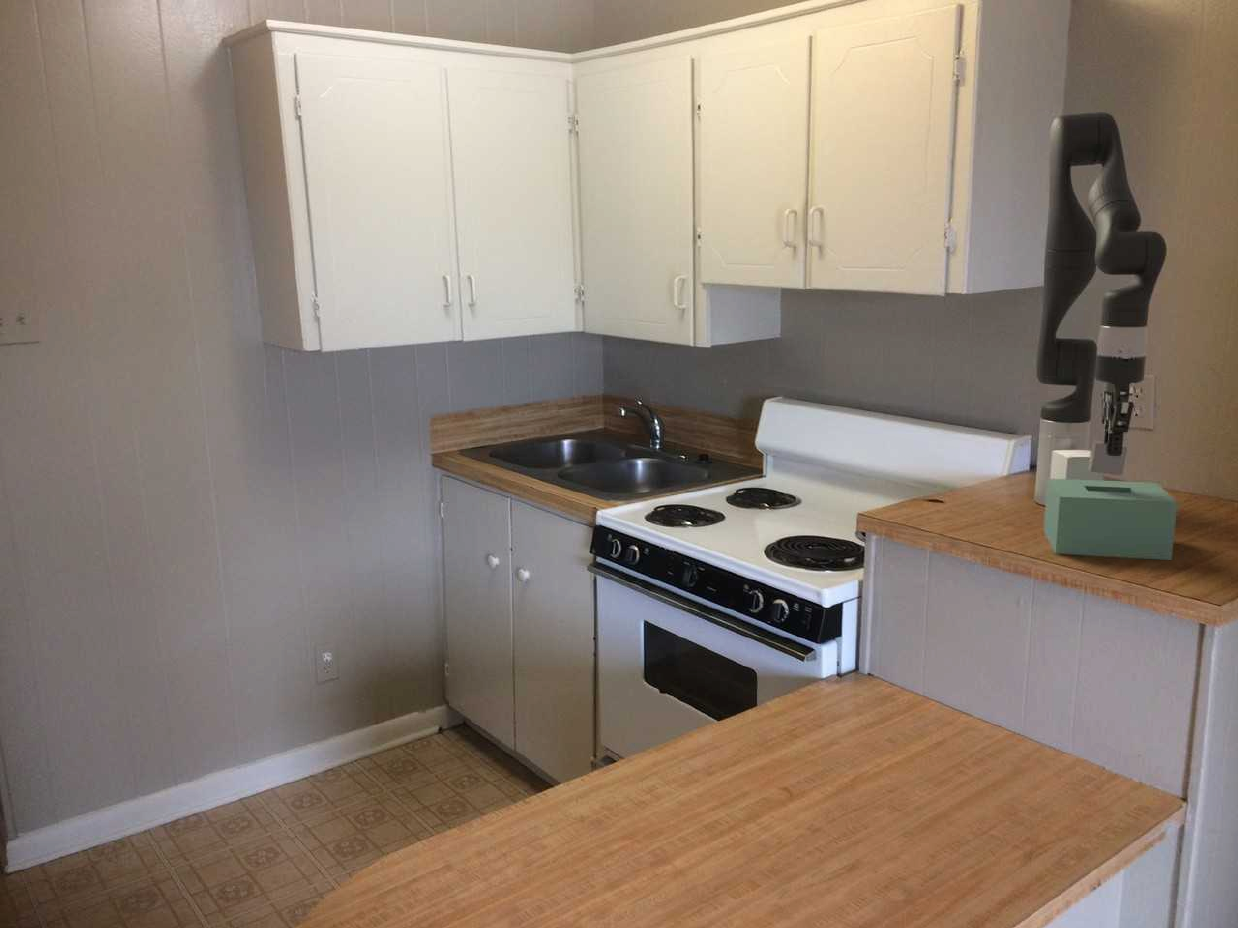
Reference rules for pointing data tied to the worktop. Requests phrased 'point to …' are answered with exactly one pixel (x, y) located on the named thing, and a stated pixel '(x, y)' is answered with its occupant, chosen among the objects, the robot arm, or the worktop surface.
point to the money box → (1110, 518)
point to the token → (1106, 459)
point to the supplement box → (1072, 465)
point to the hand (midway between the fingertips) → (1112, 453)
